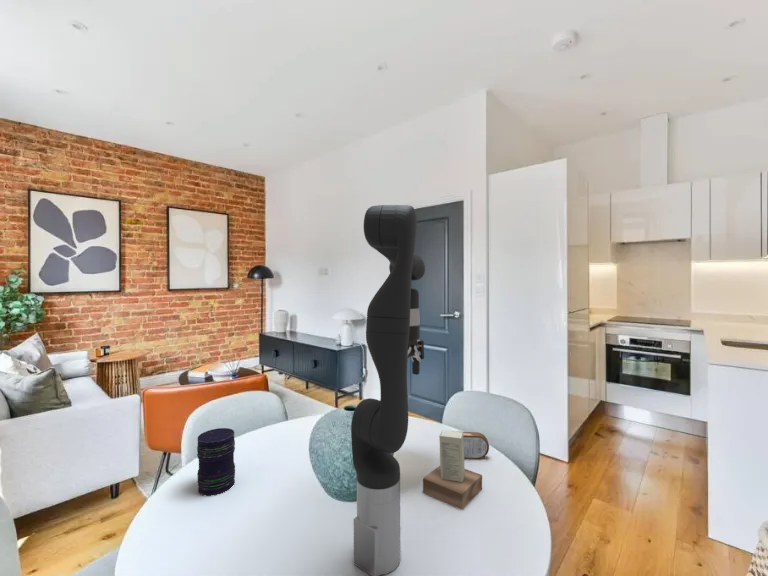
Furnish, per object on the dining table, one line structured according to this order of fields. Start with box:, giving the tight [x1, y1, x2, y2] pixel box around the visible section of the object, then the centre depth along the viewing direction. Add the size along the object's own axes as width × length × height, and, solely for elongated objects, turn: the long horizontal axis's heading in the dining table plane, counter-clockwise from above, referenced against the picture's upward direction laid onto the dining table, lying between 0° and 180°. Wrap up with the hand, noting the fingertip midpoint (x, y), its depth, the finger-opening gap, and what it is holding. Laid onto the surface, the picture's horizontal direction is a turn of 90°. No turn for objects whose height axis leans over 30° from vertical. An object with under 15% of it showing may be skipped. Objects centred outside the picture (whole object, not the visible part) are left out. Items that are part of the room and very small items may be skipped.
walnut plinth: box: [422, 465, 483, 510], centre depth 101 cm, size 12×12×4 cm
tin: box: [456, 430, 490, 460], centre depth 120 cm, size 15×3×8 cm, turn 86°
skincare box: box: [438, 429, 466, 482], centre depth 100 cm, size 6×4×12 cm
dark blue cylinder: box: [196, 427, 236, 497], centre depth 103 cm, size 10×10×15 cm
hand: (407, 376), depth 108 cm, fingers open, 8 cm apart
